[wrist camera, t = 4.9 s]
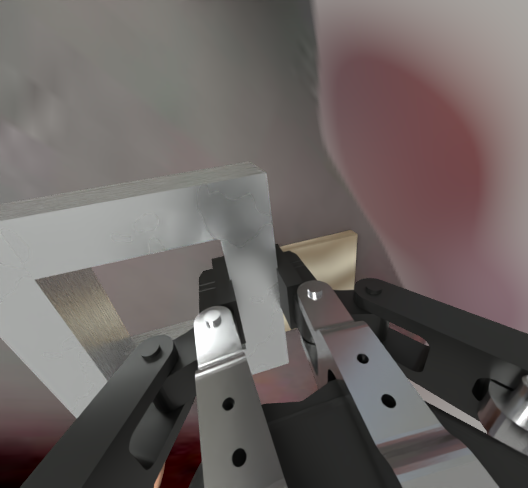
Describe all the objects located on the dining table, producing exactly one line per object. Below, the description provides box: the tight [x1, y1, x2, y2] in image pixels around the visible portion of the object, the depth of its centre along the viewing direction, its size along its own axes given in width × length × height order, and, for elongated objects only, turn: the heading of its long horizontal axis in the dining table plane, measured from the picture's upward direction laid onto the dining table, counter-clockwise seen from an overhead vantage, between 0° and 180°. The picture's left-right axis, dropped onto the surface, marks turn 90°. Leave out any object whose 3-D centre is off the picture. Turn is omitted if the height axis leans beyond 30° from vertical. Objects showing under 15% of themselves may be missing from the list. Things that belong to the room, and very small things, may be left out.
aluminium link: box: [0, 162, 289, 418], centre depth 11 cm, size 10×10×3 cm
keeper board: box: [280, 230, 358, 332], centre depth 29 cm, size 13×17×8 cm
